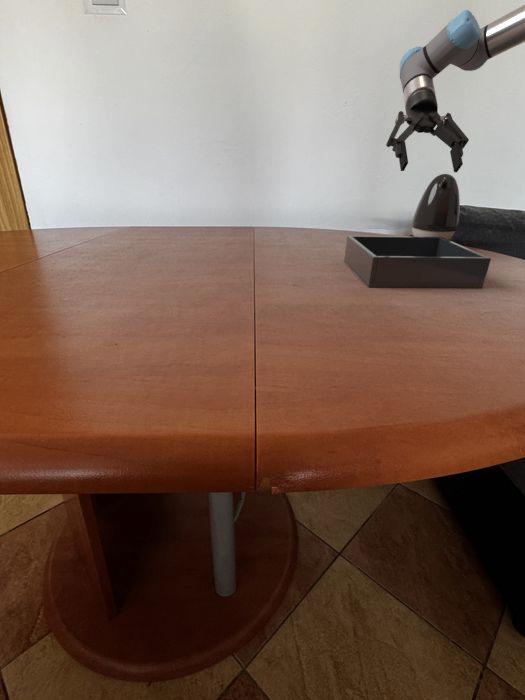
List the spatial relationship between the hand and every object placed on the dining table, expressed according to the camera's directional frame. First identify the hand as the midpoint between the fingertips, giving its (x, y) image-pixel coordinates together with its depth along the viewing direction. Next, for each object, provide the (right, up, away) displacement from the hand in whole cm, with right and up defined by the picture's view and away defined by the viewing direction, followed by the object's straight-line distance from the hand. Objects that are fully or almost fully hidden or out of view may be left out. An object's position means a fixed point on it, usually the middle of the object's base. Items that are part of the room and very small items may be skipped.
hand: (431, 167), depth 93 cm
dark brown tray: (-16, -31, -25) cm, 43 cm away
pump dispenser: (-1, -19, -2) cm, 19 cm away
